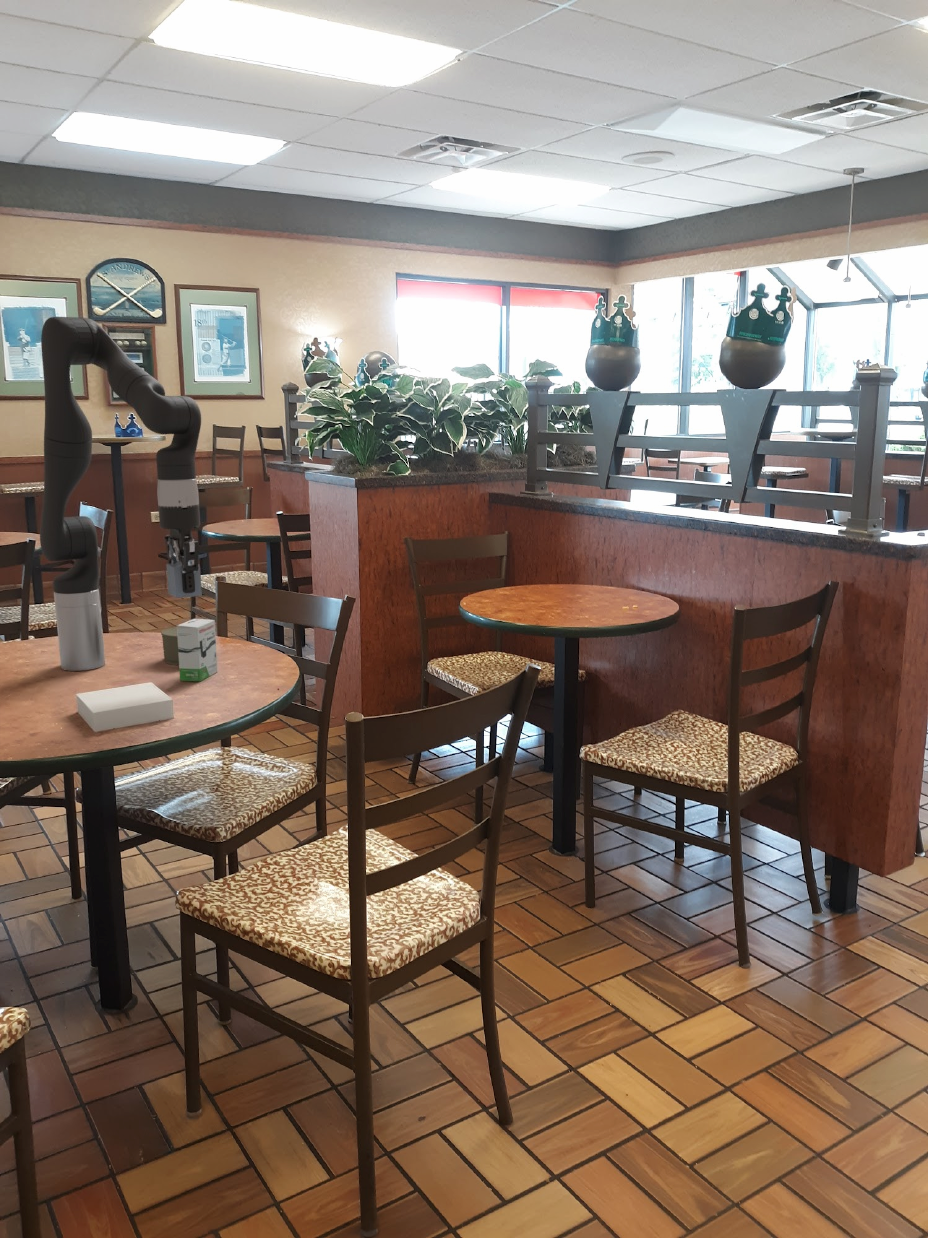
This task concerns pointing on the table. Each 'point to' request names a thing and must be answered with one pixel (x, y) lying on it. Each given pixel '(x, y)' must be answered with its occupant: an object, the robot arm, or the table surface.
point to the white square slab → (124, 706)
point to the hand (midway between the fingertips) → (184, 589)
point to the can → (171, 645)
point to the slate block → (176, 581)
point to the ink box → (197, 649)
